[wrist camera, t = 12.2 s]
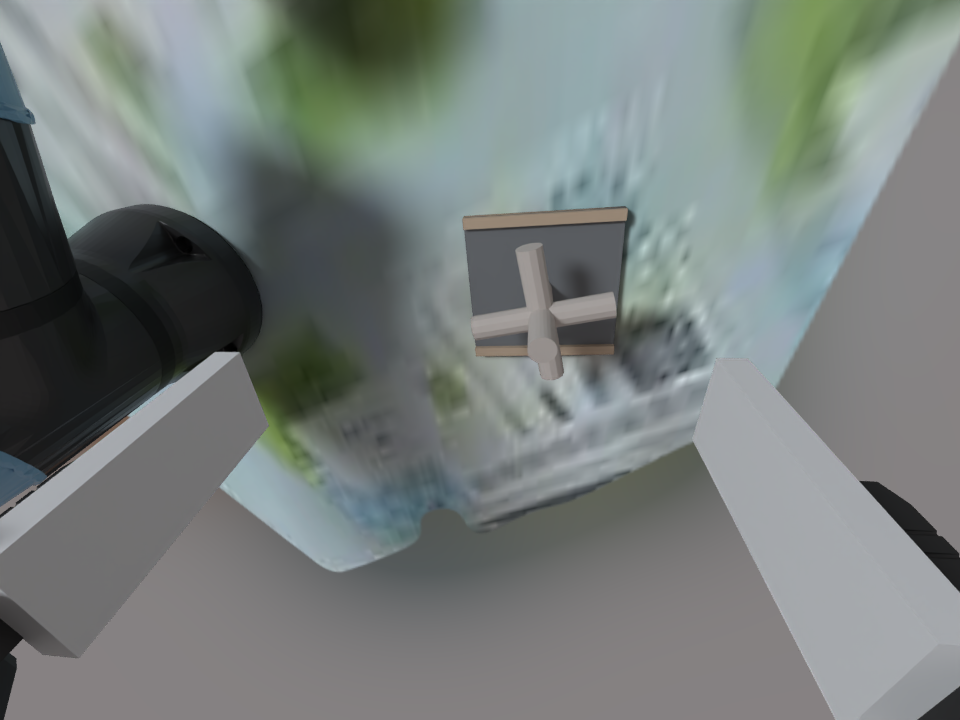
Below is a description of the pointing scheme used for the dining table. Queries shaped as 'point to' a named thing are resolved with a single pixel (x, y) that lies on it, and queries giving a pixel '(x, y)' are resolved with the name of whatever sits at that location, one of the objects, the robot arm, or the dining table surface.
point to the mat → (570, 267)
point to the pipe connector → (542, 313)
